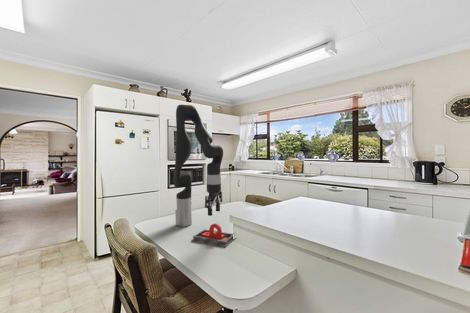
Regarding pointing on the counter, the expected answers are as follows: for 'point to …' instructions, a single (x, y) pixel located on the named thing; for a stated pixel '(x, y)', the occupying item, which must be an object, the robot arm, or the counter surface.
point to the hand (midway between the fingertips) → (214, 213)
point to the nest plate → (221, 243)
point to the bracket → (213, 234)
